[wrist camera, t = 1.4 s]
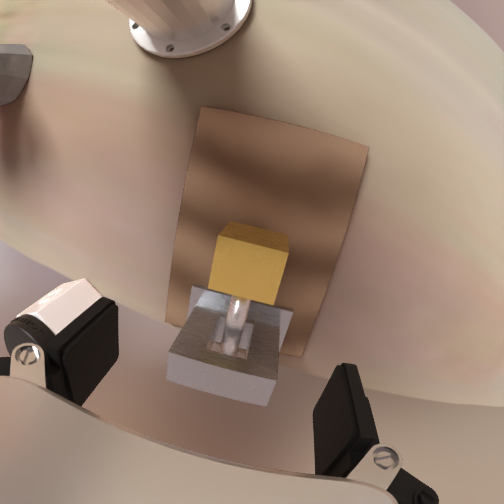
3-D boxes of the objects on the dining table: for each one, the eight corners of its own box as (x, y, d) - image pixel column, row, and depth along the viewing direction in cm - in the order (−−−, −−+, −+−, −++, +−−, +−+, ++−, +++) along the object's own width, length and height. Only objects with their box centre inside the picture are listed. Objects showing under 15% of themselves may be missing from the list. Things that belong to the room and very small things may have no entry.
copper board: (204, 108, 24) (201, 106, 23) (366, 147, 24) (369, 147, 23) (168, 317, 31) (165, 321, 30) (300, 351, 31) (300, 357, 30)
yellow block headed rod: (230, 220, 24) (218, 235, 20) (288, 234, 24) (288, 253, 19) (204, 352, 28) (191, 383, 24) (250, 364, 28) (244, 397, 24)
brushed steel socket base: (193, 283, 29) (156, 336, 19) (293, 309, 28) (294, 373, 19) (187, 324, 30) (154, 384, 21) (279, 348, 30) (275, 416, 21)
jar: (97, 272, 31) (30, 321, 19) (124, 332, 33) (73, 394, 22) (52, 284, 32) (-8, 326, 21) (77, 337, 35) (27, 387, 23)
